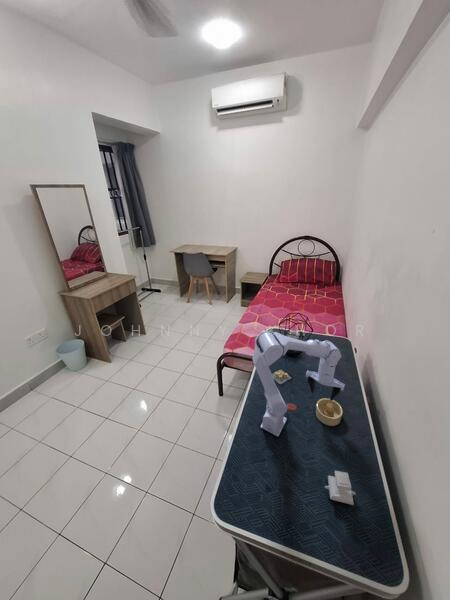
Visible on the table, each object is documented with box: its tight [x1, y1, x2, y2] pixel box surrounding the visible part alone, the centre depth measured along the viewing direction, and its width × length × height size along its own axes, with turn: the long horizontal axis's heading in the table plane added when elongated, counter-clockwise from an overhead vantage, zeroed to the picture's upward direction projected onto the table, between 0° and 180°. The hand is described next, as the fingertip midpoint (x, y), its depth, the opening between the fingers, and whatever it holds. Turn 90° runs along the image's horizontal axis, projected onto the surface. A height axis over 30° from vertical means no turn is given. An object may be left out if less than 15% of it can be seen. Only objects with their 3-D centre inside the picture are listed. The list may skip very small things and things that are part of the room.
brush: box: [323, 403, 334, 418], centre depth 101 cm, size 4×4×6 cm
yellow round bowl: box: [315, 397, 343, 427], centre depth 101 cm, size 10×10×4 cm
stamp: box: [324, 470, 357, 506], centre depth 75 cm, size 9×7×8 cm
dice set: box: [271, 368, 292, 385], centre depth 124 cm, size 5×5×2 cm
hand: (321, 395), depth 100 cm, fingers open, 7 cm apart
